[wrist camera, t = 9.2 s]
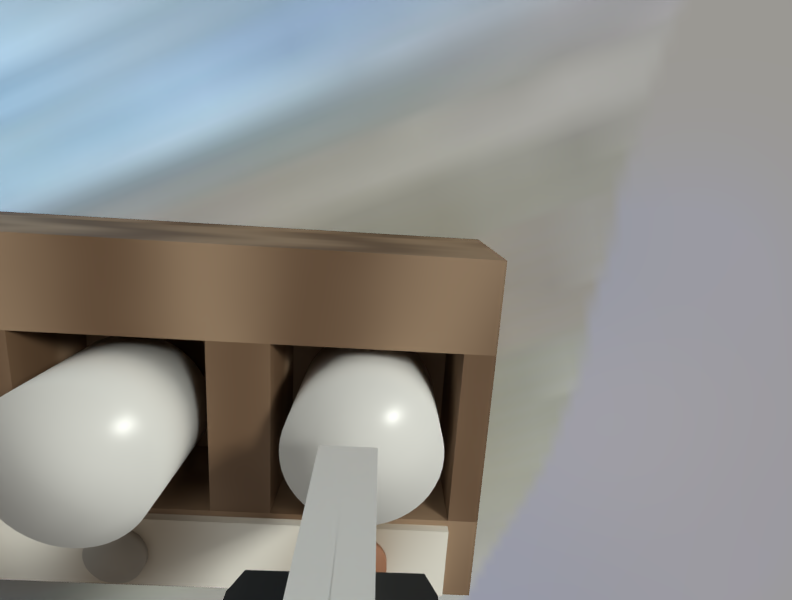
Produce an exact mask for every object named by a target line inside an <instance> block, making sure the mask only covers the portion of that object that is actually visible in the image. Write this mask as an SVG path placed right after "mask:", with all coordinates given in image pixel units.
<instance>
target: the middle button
mask: <svg viewBox="0 0 792 600" xmlns="http://www.w3.org/2000/svg"><path fill="white" fill-rule="evenodd" d="M206 428H207V398H206V380H205V378H204V376H203V375H202V373H201V371H200V369H199V368H198V367H197V365H196V364H195V363H194V362H193V361H192V359H191V358H190V357H189V356H188V355H186V354H185V353H184V352H183V351H182V350H180V349H179V348H177V347H176V346H174V345H173V344H171V343H169V342H167V341H165V340H163V339H160V338H143V337H124V336H109V337H106V338H103V339H101V340H99V341H97V342H95V343H94V344H92V345H90V346H88V347H87V348H85V349H83V350H81V351H80V352H78V353H76V354H74V355H73V356H71V357H69V358H67V359H66V360H64V361H62V362H60V363H59V364H57V365H55V366H53V367H52V368H50V369H48V370H46V371H45V372H43V373H41V374H39V375H38V376H36V377H34V378H32V379H31V380H29V381H27V382H25V383H24V384H22V385H20V386H18V387H17V388H15V389H13V390H11V391H10V392H8V393H6V394H5V395H3V396H1V397H0V519H1V520H2V521H3V522H4V523H5V524H7V525H8V526H10V527H11V528H12V529H14V530H15V531H17V532H19V533H21V534H23V535H24V536H26V537H29V538H31V539H33V540H36V541H38V542H41V543H45V544H48V545H52V546H57V547H64V548H88V547H96V546H100V545H104V544H107V543H110V542H112V541H115V540H117V539H119V538H121V537H122V536H124V535H126V534H127V533H129V532H130V531H131V530H133V529H134V528H135V527H136V526H137V525H138V524H139V523H140V522H141V521H142V519H143V518H144V517H145V515H146V514H147V513H148V511H149V510H150V508H151V507H152V506H153V504H154V503H155V501H156V500H157V499H158V497H159V496H160V494H161V493H162V492H163V490H164V489H165V487H166V486H167V485H168V483H169V482H170V480H171V479H172V478H173V476H174V475H175V473H176V472H177V471H178V469H179V468H180V466H181V465H182V464H183V462H184V461H185V459H186V458H187V457H188V455H189V454H190V452H191V451H192V450H193V448H194V447H195V445H196V444H197V443H198V441H199V440H200V438H201V437H202V436H203V434H204V432H205V430H206Z"/></svg>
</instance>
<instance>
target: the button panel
mask: <svg viewBox="0 0 792 600" xmlns="http://www.w3.org/2000/svg"><path fill="white" fill-rule="evenodd" d="M506 267H507V260H505V259H504V258H503V257H501V256H500V255H499V254H497V253H496V252H494V251H493V250H492V249H490V248H489V247H488V246H486V245H485V244H483V243H482V242H481V241H479V240H475V239H458V238H441V237H424V236H407V235H390V234H373V233H356V232H339V231H322V230H305V229H288V228H271V227H254V226H237V225H220V224H203V223H186V222H169V221H152V220H135V219H118V218H101V217H84V216H67V215H50V214H33V213H16V212H0V397H1V396H3V395H5V394H6V393H8V392H10V391H11V390H13V389H15V388H17V387H18V386H20V385H22V384H24V383H25V382H27V381H29V380H31V379H32V378H34V377H36V376H38V375H39V374H41V373H43V372H45V371H46V370H48V369H50V368H52V367H53V366H55V365H57V364H59V363H60V362H62V361H64V360H66V359H67V358H69V357H71V356H73V355H74V354H76V353H78V352H80V351H81V350H83V349H85V348H87V347H88V346H90V345H92V344H94V343H95V342H97V341H99V340H101V339H103V338H106V337H109V336H124V337H143V338H160V339H163V340H165V341H167V342H169V343H171V344H173V345H174V346H176V347H177V348H179V349H180V350H182V351H183V352H184V353H185V354H186V355H188V356H189V357H190V358H191V359H192V361H193V362H194V363H195V364H196V365H197V367H198V368H199V369H200V371H201V373H202V375H203V376H204V378H205V380H206V398H207V428H206V430H205V432H204V434H203V436H202V437H201V438H200V440H199V441H198V443H197V444H196V445H195V447H194V448H193V450H192V451H191V452H190V454H189V455H188V457H187V458H186V459H185V461H184V462H183V464H182V465H181V466H180V468H179V469H178V471H177V472H176V473H175V475H174V476H173V478H172V479H171V480H170V482H169V483H168V485H167V486H166V487H165V489H164V490H163V492H162V493H161V494H160V496H159V497H158V499H157V500H156V501H155V503H154V504H153V506H152V507H151V508H150V510H149V511H148V513H147V514H146V515H145V517H144V518H143V519H142V521H141V522H140V523H139V524H138V525H137V526H136V527H135V528H134V529H133V530H131V531H130V532H129V533H127V534H126V535H124V536H122V537H121V538H119V539H117V540H115V541H112V542H110V543H107V544H104V545H100V546H96V547H88V548H64V547H57V546H52V545H48V544H45V543H41V542H38V541H36V540H33V539H31V538H29V537H26V536H24V535H23V534H21V533H19V532H17V531H15V530H14V529H12V528H11V527H10V526H8V525H7V524H5V523H4V522H3V521H2V520H1V519H0V579H1V580H27V581H53V582H79V583H105V584H132V585H158V586H184V587H210V588H230V586H231V585H232V584H233V583H234V582H235V581H236V580H237V578H238V577H239V576H240V575H241V574H242V573H243V572H244V571H245V570H266V571H290V567H291V563H292V559H293V554H294V550H295V546H296V541H297V537H298V533H299V528H300V524H301V520H302V515H303V511H304V507H305V505H304V504H303V503H302V502H301V501H300V500H299V499H298V498H297V497H296V496H295V495H294V493H293V492H292V490H291V489H290V488H289V486H288V484H287V482H286V480H285V478H284V475H283V473H282V470H281V465H280V460H279V443H280V437H281V433H282V430H283V427H284V425H285V422H286V420H287V417H288V415H289V413H290V410H291V408H292V405H293V403H294V401H295V398H296V396H297V393H298V391H299V389H300V386H301V384H302V381H303V379H304V376H305V374H306V372H307V369H308V367H309V365H310V364H311V362H312V360H313V359H314V358H315V356H316V355H317V354H318V353H319V352H320V351H321V350H322V349H323V348H325V347H335V348H354V349H373V350H392V351H412V352H415V353H416V354H417V355H418V356H419V357H420V359H421V360H422V362H423V363H424V365H425V366H426V368H427V371H428V373H429V376H430V380H431V384H432V388H433V393H434V398H435V403H436V408H437V413H438V418H439V422H440V427H441V432H442V437H443V443H444V462H443V468H442V471H441V474H440V477H439V479H438V481H437V483H436V486H435V487H434V489H433V490H432V492H431V493H430V495H429V496H428V497H427V498H426V499H425V500H424V501H423V502H422V503H421V504H420V505H419V506H418V507H417V508H415V509H414V510H412V511H411V512H409V513H408V514H406V515H404V516H402V517H400V518H398V519H396V520H393V521H390V522H387V523H383V524H378V525H376V572H388V573H421V574H425V575H426V577H427V579H428V580H429V582H430V584H431V585H432V587H433V589H434V590H435V592H436V594H437V595H438V596H442V594H450V595H469V589H470V581H471V572H472V563H473V555H474V546H475V537H476V528H477V520H478V511H479V502H480V494H481V485H482V476H483V467H484V459H485V450H486V441H487V433H488V424H489V415H490V406H491V398H492V389H493V380H494V372H495V363H496V354H497V345H498V337H499V328H500V319H501V311H502V302H503V293H504V284H505V276H506Z"/></svg>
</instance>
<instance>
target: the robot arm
mask: <svg viewBox="0 0 792 600" xmlns="http://www.w3.org/2000/svg"><path fill="white" fill-rule="evenodd" d="M377 464H378V448H373V447H348V446H323V445H319V447H318V451H317V455H316V459H315V464H314V468H313V472H312V477H311V481H310V485H309V490H308V494H307V498H306V503H305V507H304V511H303V515H302V520H301V524H300V528H299V533H298V537H297V541H296V546H295V550H294V554H293V559H292V563H291V567H290V571H266V570H245V571H244V572H243V573H242V574H241V575H240V576H239V577H238V578H237V580H236V581H235V582H234V583H233V584H232V585H231V586H230V588H229V589H228V590H227V591H226V593H225V596H224V599H223V600H438V595H437V594H436V592H435V590H434V589H433V587H432V585H431V584H430V582H429V580H428V579H427V577H426V575H425V574H421V573H388V572H376V520H377Z"/></svg>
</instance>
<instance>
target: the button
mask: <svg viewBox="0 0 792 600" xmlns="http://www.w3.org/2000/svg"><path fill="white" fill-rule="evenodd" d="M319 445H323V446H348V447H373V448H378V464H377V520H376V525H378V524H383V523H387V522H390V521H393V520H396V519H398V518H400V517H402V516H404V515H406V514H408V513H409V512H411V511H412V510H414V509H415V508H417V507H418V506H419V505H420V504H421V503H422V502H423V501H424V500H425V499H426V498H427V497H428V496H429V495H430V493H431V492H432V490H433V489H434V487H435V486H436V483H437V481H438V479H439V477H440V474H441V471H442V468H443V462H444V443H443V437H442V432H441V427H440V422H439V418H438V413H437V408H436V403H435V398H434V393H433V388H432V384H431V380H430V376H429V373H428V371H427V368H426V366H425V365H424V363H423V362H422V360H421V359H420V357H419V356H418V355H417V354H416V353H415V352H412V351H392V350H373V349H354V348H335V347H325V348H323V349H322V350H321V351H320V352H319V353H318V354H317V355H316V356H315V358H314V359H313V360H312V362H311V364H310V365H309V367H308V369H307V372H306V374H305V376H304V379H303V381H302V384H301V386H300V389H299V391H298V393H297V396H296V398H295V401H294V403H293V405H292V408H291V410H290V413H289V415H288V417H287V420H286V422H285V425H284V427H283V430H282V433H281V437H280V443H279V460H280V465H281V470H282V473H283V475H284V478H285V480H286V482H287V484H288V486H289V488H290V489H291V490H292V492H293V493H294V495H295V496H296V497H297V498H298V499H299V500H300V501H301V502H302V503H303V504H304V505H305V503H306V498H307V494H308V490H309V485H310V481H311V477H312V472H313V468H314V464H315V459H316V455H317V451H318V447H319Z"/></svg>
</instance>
